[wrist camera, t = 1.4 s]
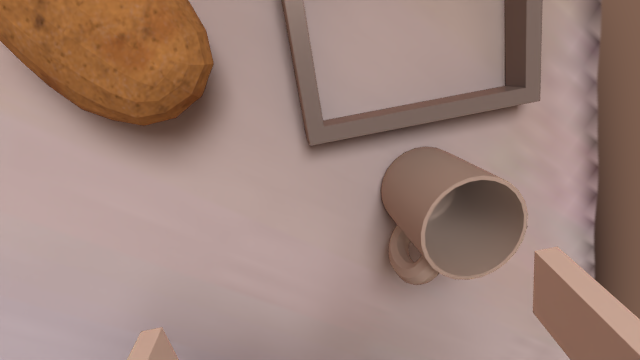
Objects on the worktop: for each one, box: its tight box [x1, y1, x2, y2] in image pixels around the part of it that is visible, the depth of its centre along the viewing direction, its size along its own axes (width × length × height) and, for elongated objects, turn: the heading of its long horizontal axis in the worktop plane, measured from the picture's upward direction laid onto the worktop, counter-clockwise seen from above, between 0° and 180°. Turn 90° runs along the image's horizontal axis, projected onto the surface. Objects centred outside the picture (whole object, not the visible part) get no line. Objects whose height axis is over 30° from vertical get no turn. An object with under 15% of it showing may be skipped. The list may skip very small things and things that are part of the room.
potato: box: [0, 0, 214, 126], centre depth 22 cm, size 10×14×8 cm
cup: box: [381, 147, 528, 285], centre depth 28 cm, size 7×10×9 cm
